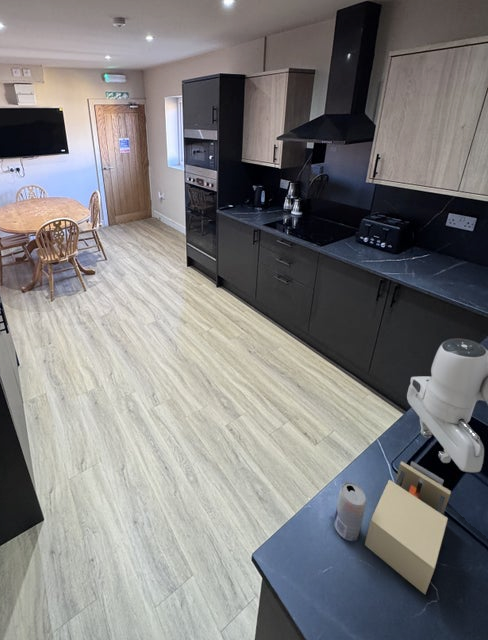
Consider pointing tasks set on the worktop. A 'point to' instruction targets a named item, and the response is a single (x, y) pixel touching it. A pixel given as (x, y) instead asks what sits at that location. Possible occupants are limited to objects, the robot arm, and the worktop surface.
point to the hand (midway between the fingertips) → (434, 447)
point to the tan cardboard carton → (406, 535)
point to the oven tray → (424, 485)
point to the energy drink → (349, 511)
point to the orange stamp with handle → (416, 489)
